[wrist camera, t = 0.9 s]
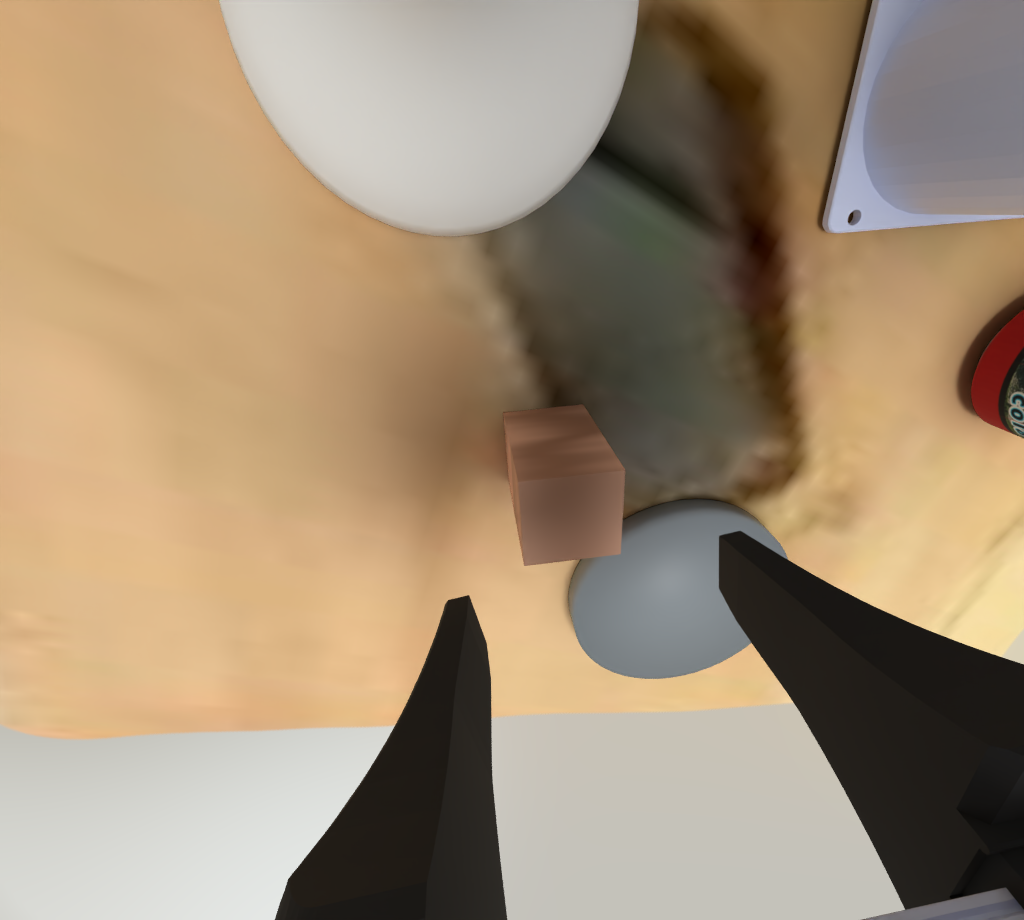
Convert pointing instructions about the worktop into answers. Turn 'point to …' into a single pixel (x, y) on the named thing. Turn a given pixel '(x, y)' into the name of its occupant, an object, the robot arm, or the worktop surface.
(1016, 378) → the beverage can
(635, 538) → the slate base plate
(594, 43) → the flower in vase
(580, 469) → the terracotta block
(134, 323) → the worktop surface
